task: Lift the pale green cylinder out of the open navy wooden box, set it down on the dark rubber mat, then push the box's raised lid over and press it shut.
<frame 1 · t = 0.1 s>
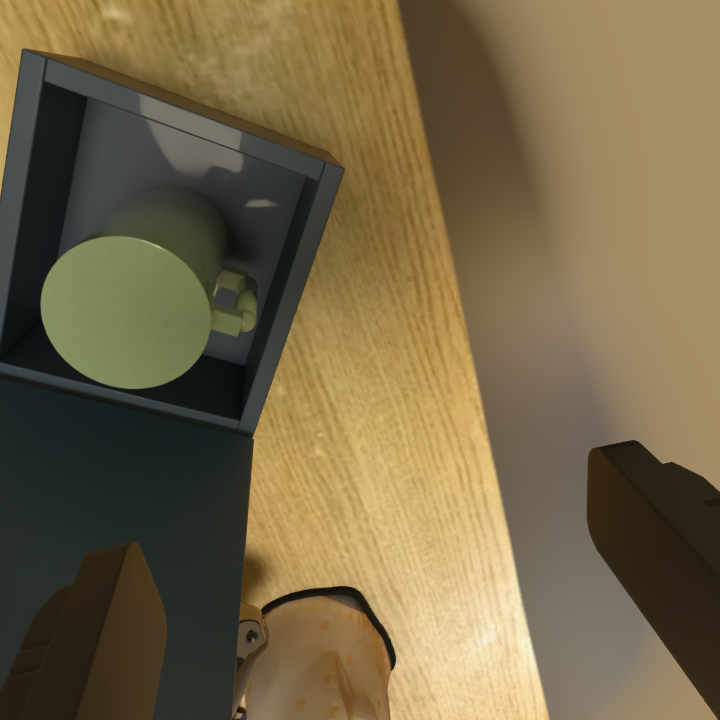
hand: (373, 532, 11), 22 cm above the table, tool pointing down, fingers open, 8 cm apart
box: (178, 236, 30), on the table
pale green cylinder: (175, 239, 29), point 1 cm above the table, touching box
figurine: (314, 649, 43), on the table
lid: (68, 528, 20), point 14 cm above the table, hinge at 95.0°
piggy bank: (154, 590, 39), on the table
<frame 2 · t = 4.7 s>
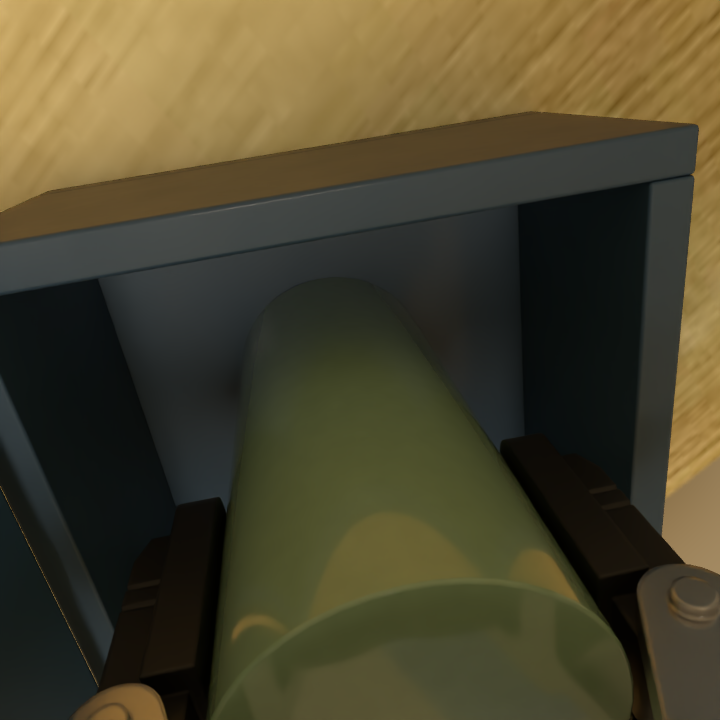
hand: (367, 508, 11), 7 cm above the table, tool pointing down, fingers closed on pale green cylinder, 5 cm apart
box: (332, 354, 18), on the table
pale green cylinder: (334, 365, 17), point 1 cm above the table, touching box, gripper
when the fingers open (7 cm above the table, at t = 12.6 s): pale green cylinder stays where it is, resting on mat.
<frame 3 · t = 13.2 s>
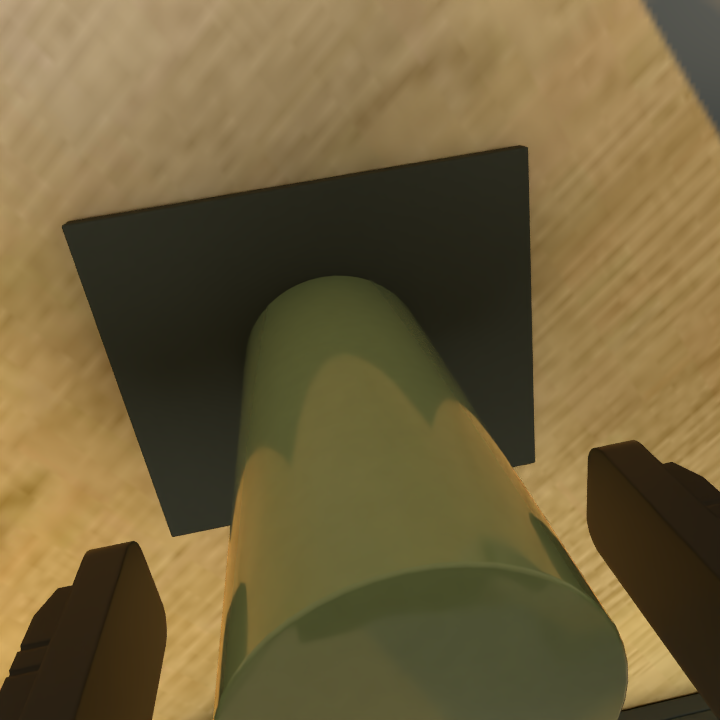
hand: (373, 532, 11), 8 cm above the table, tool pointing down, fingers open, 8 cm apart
mat: (330, 354, 18), on the table
pale green cylinder: (336, 362, 17), resting on mat
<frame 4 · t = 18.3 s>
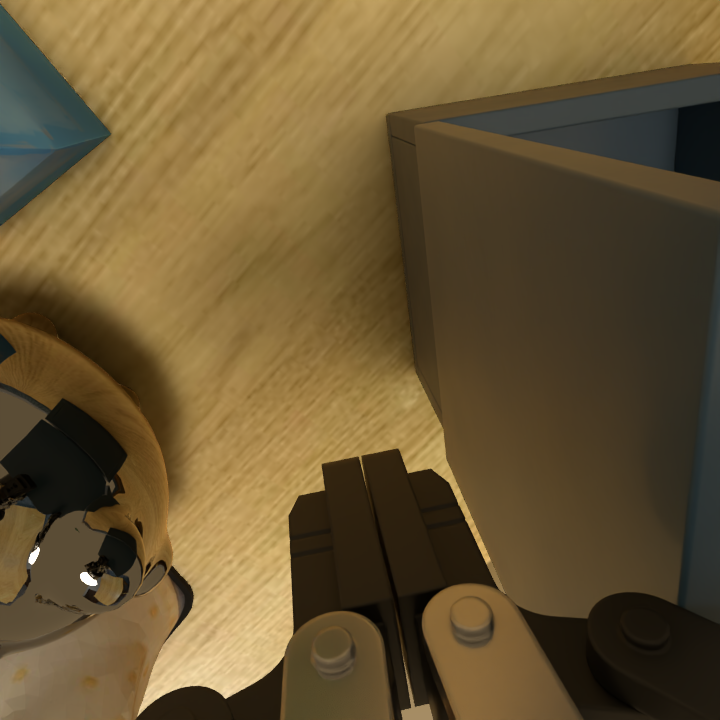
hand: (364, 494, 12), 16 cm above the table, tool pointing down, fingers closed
box: (541, 230, 27), on the table
figurine: (74, 607, 32), on the table
lid: (515, 410, 14), point 14 cm above the table, hinge at 90.5°
piggy bank: (50, 403, 27), on the table
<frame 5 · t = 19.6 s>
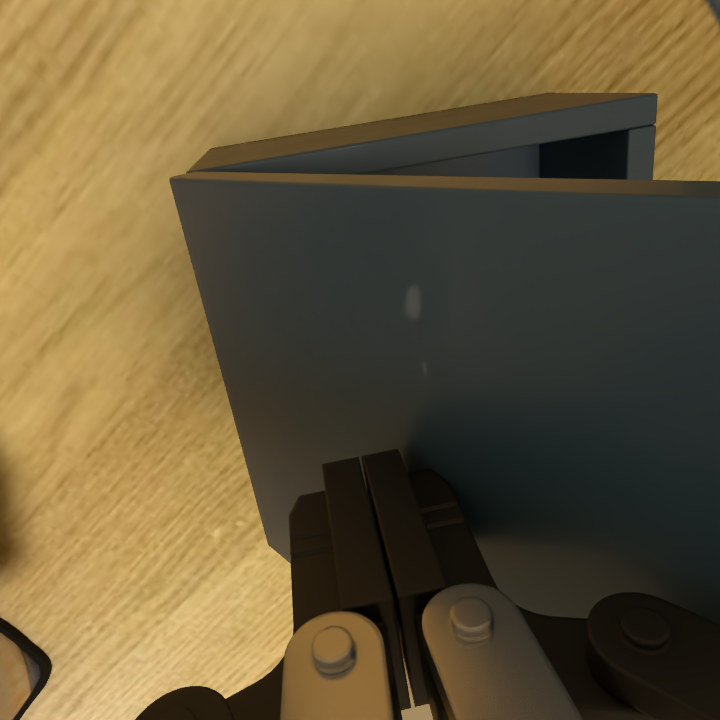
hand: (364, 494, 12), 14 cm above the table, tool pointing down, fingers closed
box: (401, 273, 24), on the table
lid: (402, 468, 12), point 13 cm above the table, hinge at 56.6°, touching gripper
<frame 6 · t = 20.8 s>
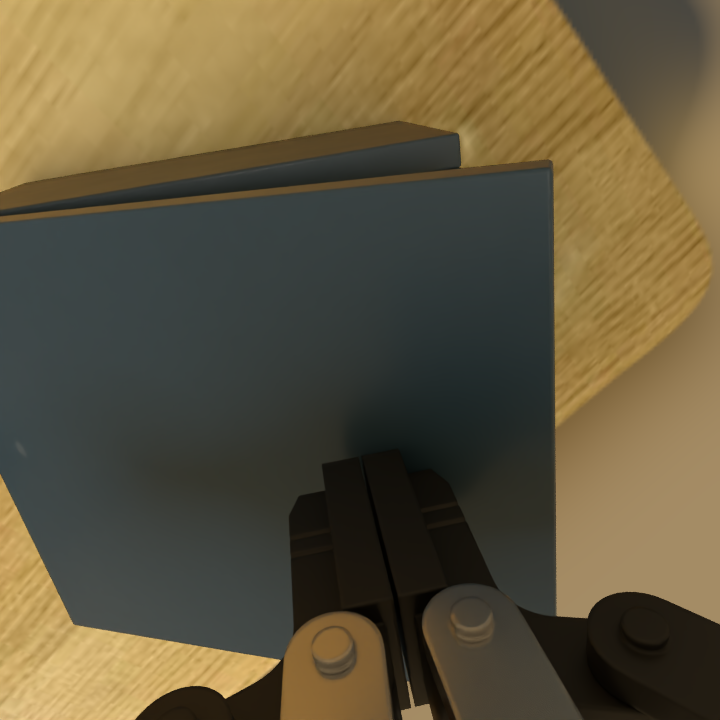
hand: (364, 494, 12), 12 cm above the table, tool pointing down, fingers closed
box: (254, 313, 22), on the table
lid: (236, 466, 13), point 10 cm above the table, hinge at 24.6°
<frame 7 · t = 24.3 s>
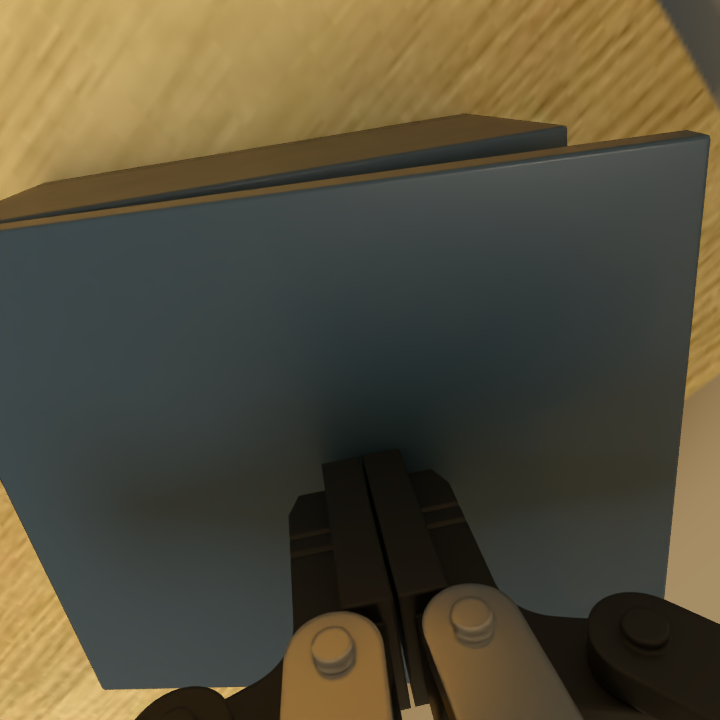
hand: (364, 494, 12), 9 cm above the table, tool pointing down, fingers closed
box: (296, 328, 20), on the table
lid: (324, 478, 12), point 9 cm above the table, hinge at 12.3°, touching gripper
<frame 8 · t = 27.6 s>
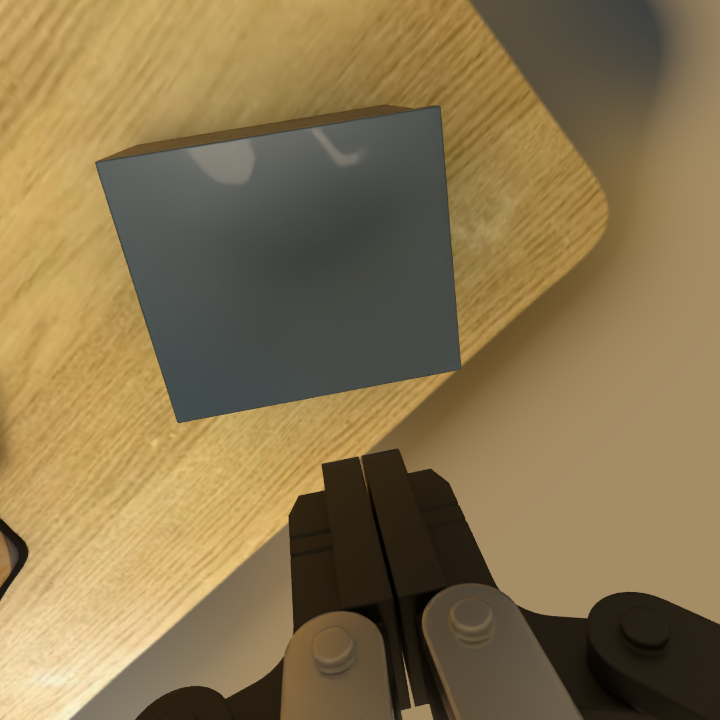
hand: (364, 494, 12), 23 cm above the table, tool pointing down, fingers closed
box: (284, 238, 32), on the table
lid: (298, 274, 26), point 7 cm above the table, hinge at 0.4°
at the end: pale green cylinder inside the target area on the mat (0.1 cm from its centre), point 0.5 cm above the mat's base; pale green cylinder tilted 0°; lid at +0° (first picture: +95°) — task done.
